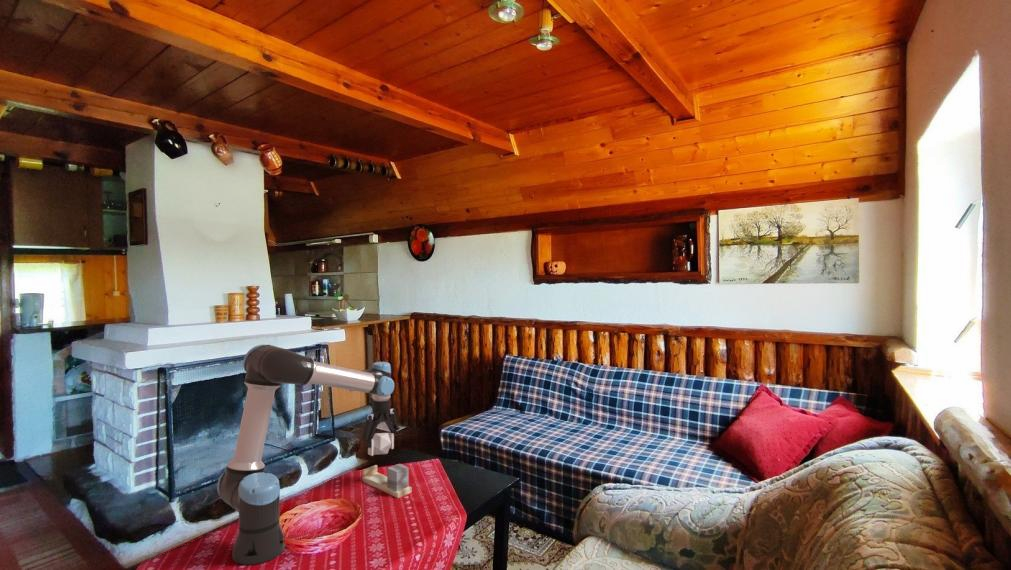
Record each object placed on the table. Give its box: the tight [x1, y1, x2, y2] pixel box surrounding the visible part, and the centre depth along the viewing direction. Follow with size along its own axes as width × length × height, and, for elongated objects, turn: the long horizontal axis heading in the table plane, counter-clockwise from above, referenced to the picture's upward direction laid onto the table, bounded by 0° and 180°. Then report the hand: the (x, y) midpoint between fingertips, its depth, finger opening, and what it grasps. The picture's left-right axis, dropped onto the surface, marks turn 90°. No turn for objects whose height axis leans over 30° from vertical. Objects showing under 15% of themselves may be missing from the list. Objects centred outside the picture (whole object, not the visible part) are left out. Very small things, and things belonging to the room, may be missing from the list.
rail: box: [361, 463, 413, 499], centre depth 207 cm, size 7×24×10 cm, turn 51°
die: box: [372, 432, 391, 456], centre depth 209 cm, size 8×9×10 cm
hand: (380, 451), depth 209 cm, fingers closed on die, 10 cm apart
